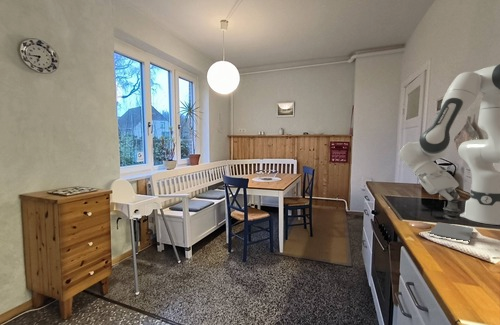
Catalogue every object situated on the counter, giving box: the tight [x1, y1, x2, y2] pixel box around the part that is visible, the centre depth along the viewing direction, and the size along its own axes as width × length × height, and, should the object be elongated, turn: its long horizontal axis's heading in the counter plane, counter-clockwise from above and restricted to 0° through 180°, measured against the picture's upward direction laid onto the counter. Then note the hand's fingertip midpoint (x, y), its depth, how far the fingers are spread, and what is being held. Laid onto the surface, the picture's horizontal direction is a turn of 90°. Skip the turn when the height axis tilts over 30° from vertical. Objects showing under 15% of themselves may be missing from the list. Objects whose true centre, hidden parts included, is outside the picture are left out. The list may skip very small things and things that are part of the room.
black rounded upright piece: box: [442, 189, 462, 221], centre depth 100 cm, size 6×6×12 cm
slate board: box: [429, 221, 474, 243], centre depth 101 cm, size 18×12×2 cm, turn 134°
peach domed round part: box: [408, 220, 431, 229], centre depth 112 cm, size 8×8×1 cm
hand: (454, 199), depth 99 cm, fingers closed on black rounded upright piece, 4 cm apart
